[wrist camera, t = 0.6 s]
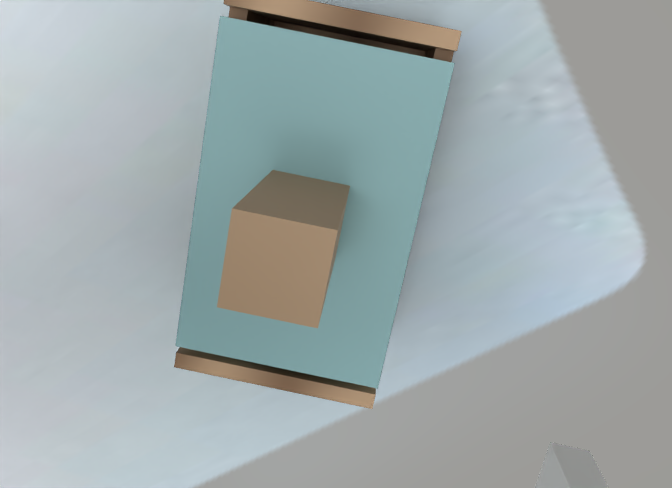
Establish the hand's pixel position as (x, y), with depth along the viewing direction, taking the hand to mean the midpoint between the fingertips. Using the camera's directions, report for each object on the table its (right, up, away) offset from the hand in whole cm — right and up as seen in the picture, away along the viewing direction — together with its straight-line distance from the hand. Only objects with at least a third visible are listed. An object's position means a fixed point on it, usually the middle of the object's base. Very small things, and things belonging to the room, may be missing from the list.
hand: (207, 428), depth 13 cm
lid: (+1, +5, +18) cm, 19 cm away
